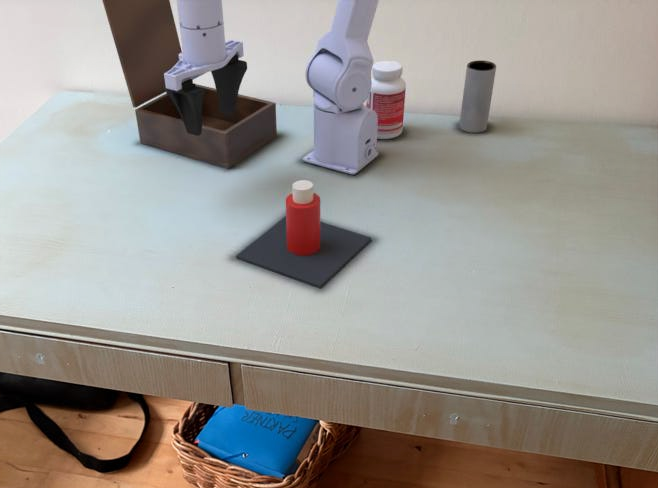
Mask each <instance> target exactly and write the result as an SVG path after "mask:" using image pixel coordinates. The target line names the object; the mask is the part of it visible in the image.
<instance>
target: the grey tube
mask: <svg viewBox="0 0 658 488" xmlns="http://www.w3.org/2000/svg"><path fill="white" fill-rule="evenodd" d="M496 71H497V64H495V63H494V62H492V61H489V60H481V59H480V60H479V59H478V60H472V61H470V62H468V63H467V65H466V70H465V77H464V85H463V93H462V101H461V109H460V117H459V129H460V130H462V131H463V132H467V133H473V134H476V133H477V134H478V133H482V132H484V131H487V128H488V123H489V118H490V117H489V116H490V110H491V103H492V98H493V97H492V96H493V92H494V91H493V90H494V84H495V79H496V78H495V77H496Z"/></svg>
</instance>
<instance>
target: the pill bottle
mask: <svg viewBox="0 0 658 488" xmlns="http://www.w3.org/2000/svg"><path fill="white" fill-rule="evenodd" d="M402 76H403V64H402V63H401V62H398V61H393V60H381V61H377V62H375V63H373V65H372V70H371V82H372V85H371V91H370V94H369V96H368V98H367V99H366V104H365V106H366V107H367V108H369V109H372V110H374V111H375V112H376V114H377V117H378V128H377V140H378V139H380V140H388V139H393V138H396V137H399V136H400V135H401V134H402V133H403V129H404V116H405V115H404V114H405V104H406V103H405V101H406V89H407V88H406V87H407V84H406V81H405V79H403V78H402Z"/></svg>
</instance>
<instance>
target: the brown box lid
mask: <svg viewBox="0 0 658 488" xmlns="http://www.w3.org/2000/svg"><path fill="white" fill-rule="evenodd" d="M101 1H102V3H103V7H104V11H105V13H106V19H107V22H108V25H109V29H110V32H111V35H112V39H113V43H114V45H115V49H116V52H117V53H116V54H117V56H118V60H119V63H120V67H121V70H122V73H123V76H124V80H125V83H126V88H127V90H128V95H129V98H130V100H131V105H132V108H136V109H137V108H139V106H140V107H141V106H143V105H145V104H146V103H148V102H150V101H152V100H154V99H156V98H158V97H160V96H162V95H164V94H166V91H165V88H164V83H165V78H164V73H166V72H168V71H169V70H171V69H172V68H173V67H174V66H175V65H176V64H177V63H178V62H179V54H180V53H182V52H183V49H182V45H181V42H180V38H179V34H178V29H177V26H176V22H175V17H174V13H173V9H172V5H171V1H170V0H101Z"/></svg>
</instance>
